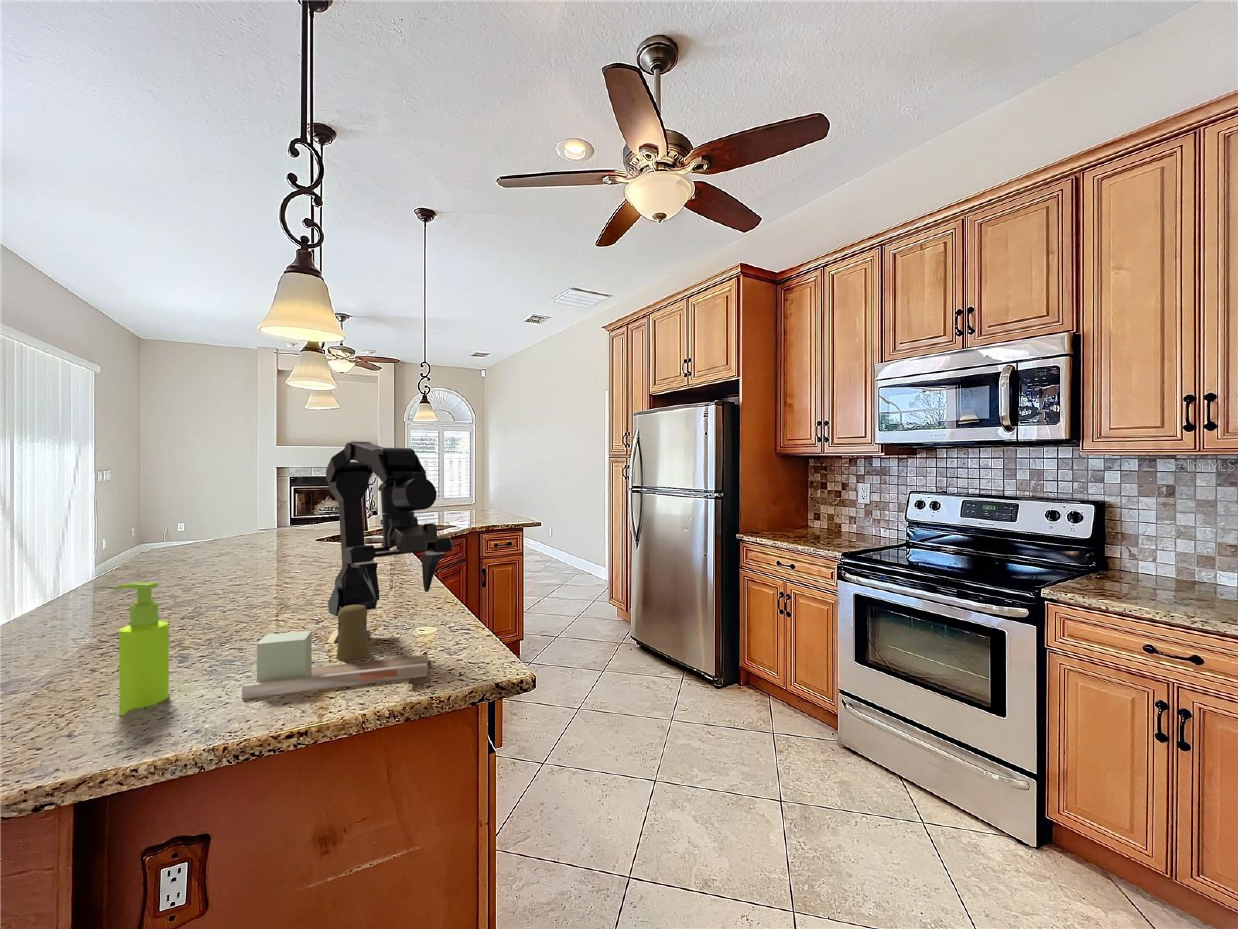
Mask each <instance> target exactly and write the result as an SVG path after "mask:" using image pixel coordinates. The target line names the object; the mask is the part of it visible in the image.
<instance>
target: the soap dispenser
mask: <svg viewBox="0 0 1238 929" xmlns="http://www.w3.org/2000/svg"><path fill="white" fill-rule="evenodd" d="M156 587H159V582H157V581H156V582H155V581H135V582H134V581H133V582H130V583H125V584H120V585H118V586H117V585H116V586H114V587H113V588H112V589H113V590H114V591H117V590H123V589H136V591H137V592H136V595H137V596H136V598H137V600H136V602H134V604H130V606H129V624H128V625H126V626H124V627H122V628H119V630H118V631H119V633H118V635H119V636H118V637H119V638H118V643H119V644H118V647H119V648H118V651H119V653H118V654H119V656H118V658H119V664H118V666H119V673H118V674H119V678H118V679H119V682H118V683H119V685H118V686H119V688H118V691H119V698H118V700H119V715H120V716H121V717H124V715H125V714H127V713H129V712H130V711H132V710H137V709H142V708H146V707H150V706H151V707H152V706H153V705H156V704H159V703H161V702H163V701H165V700H167V699H168V698H169V696H170V693H169V692H170V691H169V690H170V686H169V685H170V684H169V683H170V680H169V678H170V677H169V676H170V666H169V665H170V664H169V660H170V658H169V656H170V655H169V654H170V649H169V648H170V646H169V645H170V644H169V643H170V642H169V641H170V640H169V638H170V634H169V633H170V630H169V628H170V627H169V626H170V625H169V622H168V621H166V620H159V601H155V600H152V589H153V588H156Z"/></svg>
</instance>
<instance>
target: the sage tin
mask: <svg viewBox="0 0 1238 929" xmlns="http://www.w3.org/2000/svg"><path fill="white" fill-rule="evenodd" d="M312 638H313V637H312V630H305V631H293V632H282V633H273V634H271V633H270V634H265V635H264V636H263V637H262V638H261V639H260V640H259V641H258V642H257V643H256V681H257V682H265V681H273V680H282V679H291V678H299V677H308V676H312V668H313V667H312V664H313V663H312V662H313V660H312V657H313V656H312Z"/></svg>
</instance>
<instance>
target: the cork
mask: <svg viewBox="0 0 1238 929" xmlns="http://www.w3.org/2000/svg"><path fill="white" fill-rule="evenodd" d="M366 617H368V610H367V609H366V608H365V606H363V605H348V606H345V607H343V608H341V609H340V610H339V612H338V616H337V622H338V621H339V622H340V624H341V628H340V635H339V642H338V643H337V649H336V656H335V657H336V660H337V661H341V662H352V661H357V660H361V659H365V658H366V657H368V656H369V654H370V651H369V646H368V639H367V638H366V631H365V624H364V621H365V619H366Z"/></svg>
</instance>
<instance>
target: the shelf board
mask: <svg viewBox="0 0 1238 929" xmlns="http://www.w3.org/2000/svg"><path fill="white" fill-rule="evenodd" d="M428 666H429V655H428V654H422V655H413V656H406V657H398V658H397V657H396V658H388V659H379V660H377V659H376V660H370V661H369V660H368V661H361V662H360V661H359V662H351V663H342V664H333V665H324V666H314V667H312V676H308V677H299V678H291V679H282V680H273V681H265V682H257V680H256V681H255V682H251V683H250V682H249V683H248V682H247V683H244V684H243V685H241V695H242V696H241V699H242V700H245V699H254V698H262V697H271V696H277V695H285V694H292V693H293V694H294V693H302V692H310V691H317V690H325V689H327V690H328V689H334V688H335V689H336V688H343V687H350V686H360V685H367V684H375V683H382V682H389V681H399V680H406V679H407V680H408V684H413V685H418V684H419V685H420V684H427V683H428V670H429V669H428V668H429V667H428Z"/></svg>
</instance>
